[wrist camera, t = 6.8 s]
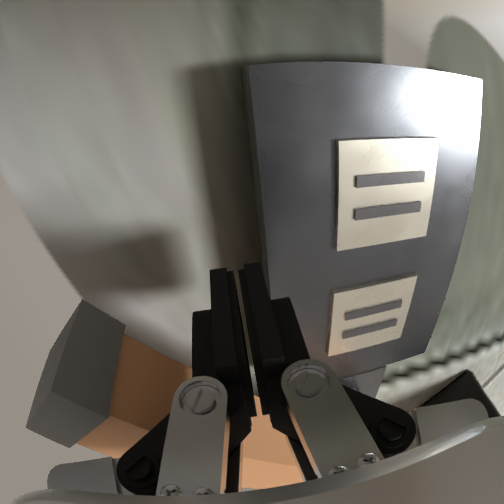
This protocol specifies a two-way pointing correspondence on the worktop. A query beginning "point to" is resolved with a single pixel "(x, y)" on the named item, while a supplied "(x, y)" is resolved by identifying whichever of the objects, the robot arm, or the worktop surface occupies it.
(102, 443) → the swing bar
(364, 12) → the worktop surface
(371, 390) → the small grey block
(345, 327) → the label panel
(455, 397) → the battery charger
